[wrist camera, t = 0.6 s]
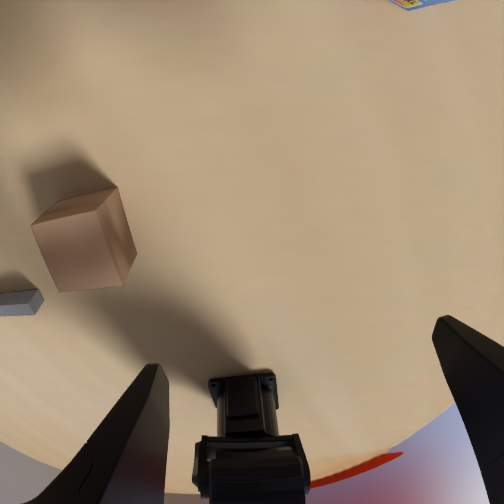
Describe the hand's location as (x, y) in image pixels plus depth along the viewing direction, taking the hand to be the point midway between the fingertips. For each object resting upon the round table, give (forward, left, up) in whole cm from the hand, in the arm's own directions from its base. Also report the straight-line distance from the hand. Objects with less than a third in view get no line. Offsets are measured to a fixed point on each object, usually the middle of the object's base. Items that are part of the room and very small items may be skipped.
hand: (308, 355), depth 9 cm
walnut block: (0, +12, -13) cm, 17 cm away
